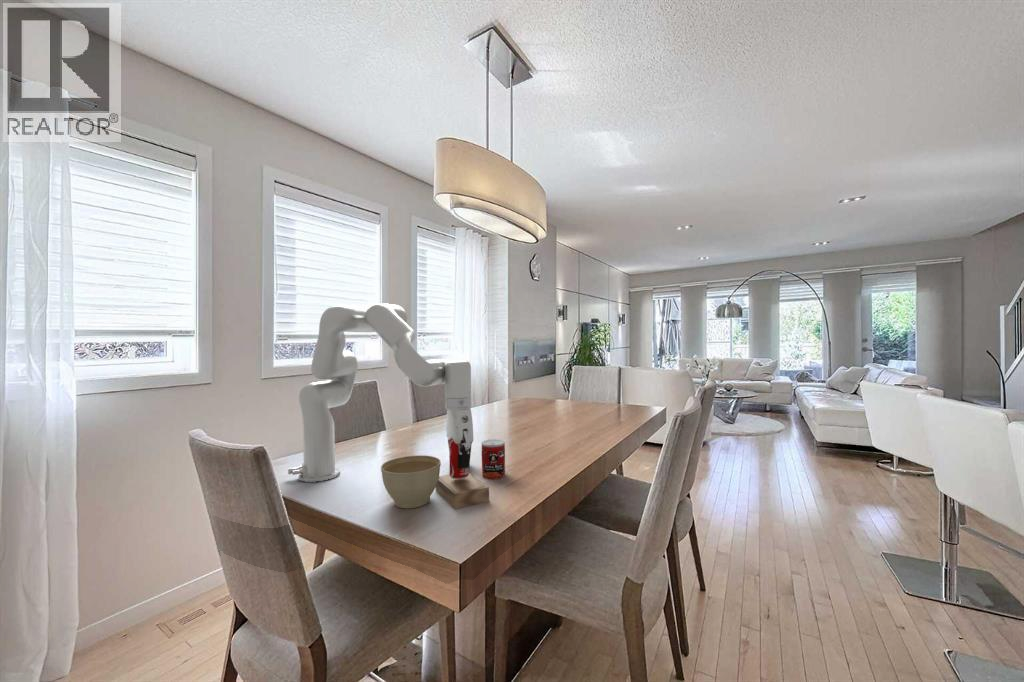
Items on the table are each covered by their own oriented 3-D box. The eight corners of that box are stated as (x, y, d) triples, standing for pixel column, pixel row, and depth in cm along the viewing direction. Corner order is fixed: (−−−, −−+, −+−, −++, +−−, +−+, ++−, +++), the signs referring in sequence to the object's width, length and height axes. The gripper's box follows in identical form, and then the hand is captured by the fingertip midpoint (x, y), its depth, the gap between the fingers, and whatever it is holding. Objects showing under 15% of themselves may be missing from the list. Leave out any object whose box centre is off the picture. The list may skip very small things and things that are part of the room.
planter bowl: (397, 490, 124) (396, 454, 124) (448, 492, 122) (448, 455, 122) (370, 512, 108) (369, 471, 108) (429, 516, 106) (428, 473, 106)
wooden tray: (455, 509, 110) (455, 493, 110) (435, 490, 124) (435, 476, 124) (489, 501, 115) (488, 486, 115) (466, 484, 129) (466, 470, 129)
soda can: (449, 473, 122) (449, 433, 122) (468, 473, 123) (468, 432, 123) (449, 480, 117) (449, 438, 117) (468, 479, 118) (468, 437, 118)
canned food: (481, 479, 132) (481, 445, 132) (482, 471, 140) (482, 439, 140) (505, 479, 133) (504, 444, 133) (505, 471, 141) (504, 438, 141)
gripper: (482, 405, 114) (483, 471, 114) (459, 398, 129) (459, 456, 129) (457, 408, 111) (458, 475, 111) (436, 400, 126) (436, 459, 126)
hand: (458, 464), depth 120 cm, fingers closed on soda can, 5 cm apart
